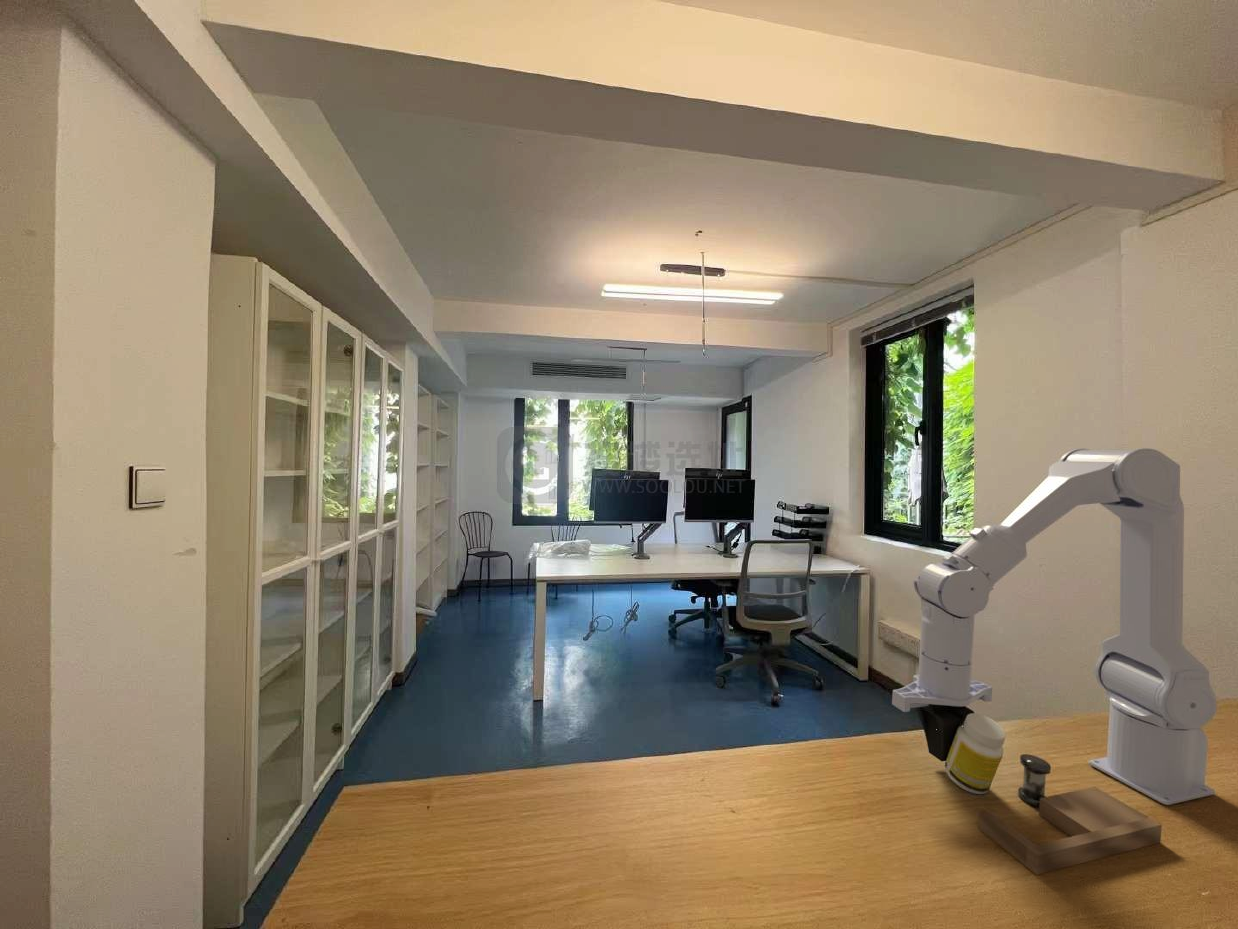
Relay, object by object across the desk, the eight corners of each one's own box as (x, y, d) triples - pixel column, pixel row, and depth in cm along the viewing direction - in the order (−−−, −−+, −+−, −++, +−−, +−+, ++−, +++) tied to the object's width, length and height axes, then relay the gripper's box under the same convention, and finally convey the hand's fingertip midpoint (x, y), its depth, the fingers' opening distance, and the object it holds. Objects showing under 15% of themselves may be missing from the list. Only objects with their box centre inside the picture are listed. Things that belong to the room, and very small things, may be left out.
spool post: (1029, 790, 60) (1031, 753, 60) (1054, 806, 57) (1056, 767, 57) (1012, 793, 59) (1014, 755, 59) (1037, 810, 56) (1039, 770, 56)
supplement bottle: (996, 800, 58) (1019, 746, 56) (954, 790, 59) (975, 737, 57) (976, 765, 63) (996, 715, 60) (937, 757, 64) (955, 706, 61)
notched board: (1093, 803, 58) (1094, 786, 58) (1160, 842, 52) (1161, 824, 52) (977, 828, 53) (978, 811, 53) (1036, 875, 48) (1037, 855, 48)
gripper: (959, 640, 69) (954, 732, 69) (876, 647, 65) (871, 744, 66) (1010, 662, 62) (1004, 764, 63) (920, 671, 59) (914, 779, 59)
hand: (939, 756), depth 64 cm, fingers closed
